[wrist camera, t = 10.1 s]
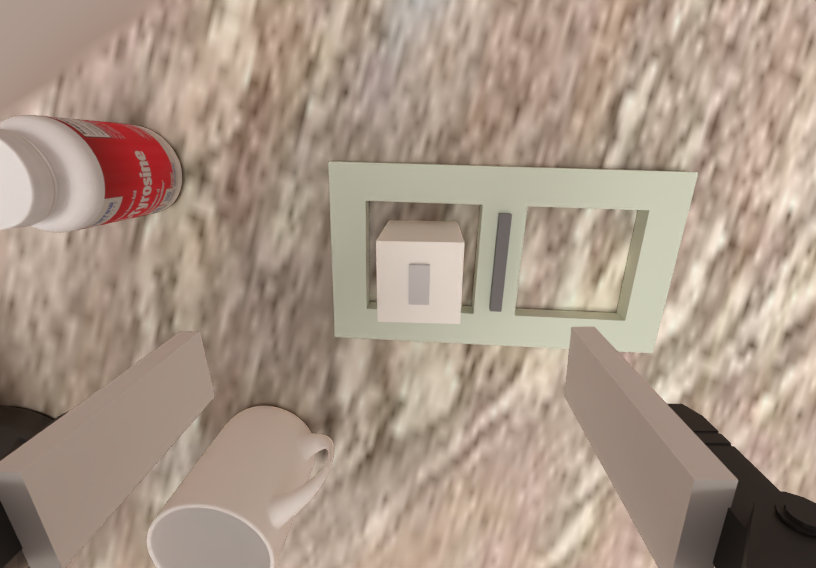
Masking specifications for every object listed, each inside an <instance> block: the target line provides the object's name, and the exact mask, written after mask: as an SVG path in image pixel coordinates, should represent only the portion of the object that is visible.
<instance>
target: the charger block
mask: <svg viewBox="0 0 816 568" xmlns="http://www.w3.org/2000/svg"><path fill="white" fill-rule="evenodd" d="M463 261H464V240H463V237H462V234H461V231H460V228H459V225H458V222H457V221H400V220H389V221H388V222H387V224H386V226H385V227H384V229H383V230H382V232H381V234H380V235H379V237H378V238H377V240H376V269H377V317H378V322H406V323H440V324H460V318H461V299H462V280H463Z"/></svg>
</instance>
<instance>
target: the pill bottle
mask: <svg viewBox="0 0 816 568" xmlns="http://www.w3.org/2000/svg"><path fill="white" fill-rule="evenodd" d="M181 186H182V170H181V165H180V162H179V159H178V157H177V155H176V153H175V152H174V150H173V149H172V147H171V146H170V145H169V144H168V143H167V142H166V141H165V140H164V139H163V138H162V137H161V136H160V135H158V134H157V133H155V132H153V131H152V130H150V129H147V128H144V127H141V126H137V125H130V124H121V123H111V122H100V121H89V120H79V119H68V118H58V117H48V116H36V115H21V116H15V117H11V118H8V119H6V120H4V121H2V122H0V230H3V229H12V228H20V227H27V226H31V227H33V228H36V229H39V230H43V231H48V232H68V231H74V230H80V229H84V228H89V227H93V226H98V225H103V224H108V223H112V222H117V221H121V220H126V219H130V218H135V217H139V216H144V215H149V214H153V213H157V212H160V211H162V210H165V209H166V208H168V207H169V206H170V205H172V204H173V203H174V201H175V200H176V199H177V197H178V195H179V193H180V190H181Z"/></svg>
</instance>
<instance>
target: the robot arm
mask: <svg viewBox="0 0 816 568" xmlns="http://www.w3.org/2000/svg"><path fill="white" fill-rule="evenodd" d="M564 396H565V398H566V400H567V402H568V404H569V405H570V407H571V409H572V411H573V413H574V415H575V416H576V418H577V420H578V422H579V424H580V426H581V427H582V429H583V431H584V433H585V435H586V437H587V438H588V440H589V442H590V444H591V446H592V447H593V449H594V451H595V453H596V455H597V457H598V458H599V460H600V462H601V464H602V466H603V468H604V469H605V471H606V473H607V475H608V477H609V479H610V480H611V482H612V484H613V486H614V488H615V489H616V491H617V493H618V495H619V497H620V499H621V500H622V502H623V504H624V506H625V508H626V510H627V511H628V513H629V515H630V517H631V519H632V521H633V522H634V524H635V526H636V528H637V530H638V531H639V533H640V535H641V537H642V539H643V541H644V542H645V544H646V546H647V548H648V550H649V552H650V553H651V555H652V557H653V559H654V561H655V563H656V564H657V566H658V568H714V566H715V568H816V503H814V502H812V501H810V500H808V499H806V498H804V497H800V496H797V495H794V494H791V493H787V492H781V491H779V490H778V489H777V488H776V487H775V486H774V485H773V484H772V483H771V482H770V481H769V480H768V479H767V478H766V477H765V476H764V475H763V474H762V473H761V472H760V471H759V470H758V469H757V468H756V467H755V466H754V465H753V464H752V463H751V462H749V461H748V460H747V459H746V458H745V457H744V456H743V455H742V454H741V453H740V452H739V451H738V450H737V449H736V448H735V447H734V446H731V443H730V442H729V441H728V440H727V439H726V438H725V437H724V436H723V435H722V434H719V433H718V430H717V429H716V428H715V427H713V426H712V425H711V424H710V423H709V422H708V421H707V420H706V419H705V418H704V417H703V416H702V415H700V414H698V413H697V412H695V411H693V410H692V409H690V408H688V407H686V406H685V405H683V404H667V403H666V402H665V401H664V400H663V399H662V398H661V397H660V396H659V395H658V394H657V393H656V392H655V391H654V390H653V388H652V387H651V386H650V385H649V384H648V383H647V382H646V381H645V380H644V379H643V378H642V377H641V376H640V375H639V374H638V372H637V371H636V370H635V369H634V368H633V367H632V366H631V365H630V364H629V363H628V362H627V361H626V360H625V359H624V357H623V356H622V355H621V354H620V353H619V352H618V351H617V350H616V349H615V348H614V347H613V346H612V345H611V344H610V343H609V341H608V340H607V339H606V338H605V337H604V336H603V335H602V334H601V333H600V332H599V331H598V330H597V329H596V328H595V327H594V326H592V327H571V335H570V345H569V355H568V365H567V375H566V385H565V395H564ZM214 397H215V395H214V391H213V387H212V382H211V378H210V373H209V369H208V364H207V360H206V355H205V351H204V347H203V342H202V338H201V333H200V331H194V332H179V333H177V334H176V335H174V336H173V337H172V338H170V339H169V340H168V341H166V342H165V343H163V344H162V345H161V346H159V347H158V348H156V349H155V350H154V351H152V352H151V353H149V354H148V355H147V356H145V357H144V358H143V359H141V360H140V361H138V362H137V363H136V364H134V365H133V366H131V367H130V368H129V369H127V370H126V371H124V372H123V373H122V374H120V375H119V376H118V377H116V378H115V379H113V380H112V381H111V382H109V383H108V384H106V385H105V386H104V387H102V388H101V389H99V390H98V391H97V392H95V393H94V394H93V395H91V396H90V397H88V398H87V399H86V400H84V401H83V402H81V403H80V404H79V405H77V406H76V407H74V408H73V409H72V410H70V411H68V412H66V413H64V414H62V415H60V416H58V417H57V418H56V419H54V420H52V419H50V418H48V417H46V416H44V415H41V414H39V413H36V412H33V411H29V410H26V409H21V408H15V407H0V568H65V567H66V566H67V565H68V563H69V562H70V561H71V560H72V559H73V558H74V557H75V556H76V554H77V553H78V552H79V551H80V550H81V549H82V548H83V546H84V545H85V544H86V543H87V542H88V541H89V540H90V538H91V537H92V536H93V535H94V534H95V533H96V532H97V530H98V529H99V528H100V527H101V526H102V525H103V524H104V522H105V521H106V520H107V519H108V518H109V517H110V516H111V514H112V513H113V512H114V511H115V510H116V509H117V508H118V507H119V505H120V504H121V503H122V502H123V501H124V500H125V499H126V497H127V496H128V495H129V494H130V493H131V492H132V491H133V489H134V488H135V487H136V486H137V485H138V484H139V483H140V481H141V480H142V479H143V478H144V477H145V476H146V475H147V473H148V472H149V471H150V470H151V469H152V468H153V467H154V465H155V464H156V463H157V462H158V461H159V460H160V459H161V458H162V456H163V455H164V454H165V453H166V452H167V451H168V450H169V448H170V447H171V446H172V445H173V444H174V443H175V442H176V440H177V439H178V438H179V437H180V436H181V435H182V434H183V432H184V431H185V430H186V429H187V428H188V427H189V426H190V424H191V423H192V422H193V421H194V420H195V419H196V418H197V416H198V415H199V414H200V413H201V412H202V411H203V410H204V409H205V407H206V406H207V405H208V404H209V403H210V402H211V401H212V399H213V398H214Z"/></svg>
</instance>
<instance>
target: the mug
mask: <svg viewBox="0 0 816 568" xmlns="http://www.w3.org/2000/svg"><path fill="white" fill-rule="evenodd" d="M322 449H327V450H328V459H327V461H326V463H325V465H324V466H323V468H322V469H321V470H320V471H319V472H318V473H317V474H316V475H315V476H314V477H313V478H312V479H311V480H310V481H308V479H309V476H310V474H311V471H312V468H313V465H314V461H315V455H316V453H317V452H318V451H320V450H322ZM334 449H335V448H334V443H333V441H332V440H331V439H330V438H329V437H328V436H326V435H323V434H317V433H314V434H312V433H311V431H310V430H309V428H308V427H307V425H306V424H305V423H304V422H303V421H302V420H301V419H300V418H298V417H297V416H296V415H294V414H292V413H291V412H289V411H287V410H284V409H281V408H278V407H273V406H255V407H251V408H248V409H245V410H243V411H241V412H239V413H238V414H236V415H235V416H234V417H233V418H232V419H230V420H229V422H228V423H227V424H226V425H225V426H224V427H223V429H222V430H221V431H220V433H219V434H218V435H217V437H216V438H215V439H214V441H213V442H212V443H211V445H210V446H209V447H208V449H207V450H206V451H205V453H204V454H203V455H202V457H201V458H200V459H199V460H198V462H197V463H196V464H195V466H194V467H193V468H192V470H191V471H190V472H189V474H188V475H187V476H186V478H185V479H184V480H183V482H182V483H181V484H180V486H179V487H178V488H177V490H176V491H175V492H174V494H173V495H172V496H171V498H170V499H169V500H168V502H167V503H166V504H165V506H164V507H163V508H162V510H161V511H160V512H159V514H158V515H157V516H156V517H155V519H154V520H153V522H152V523H151V525H150V527H149V530H148V533H147V548H148V552H149V555H150V557H151V559H152V561H153V563H154V564H155V566H156V567H157V568H275V566H276V564H277V561H278V558H279V556H280V553H281V551H282V548H283V545H284V543H285V540H286V537H287V535H288V532H289V529H290V527H291V524H292V521H293V519H294V516H295V514H297V513H298V512H299V511H300V510H301V509H302V508H303V507H304V506H305V505H306V504H307V503H308V502H309V501H310V500H311V499H312V498H313V496H314V495H315V494H316V493H317V492H318V490H319V489H320V487H321V486H322V484H323V482H324V481H325V479H326V477H327V475H328V473H329V470H330V468H331V465H332V462H333V458H334Z"/></svg>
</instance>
